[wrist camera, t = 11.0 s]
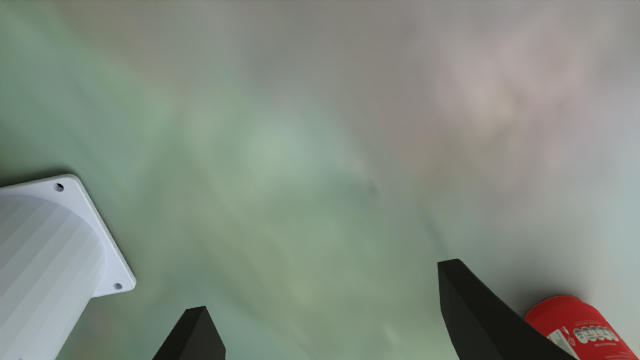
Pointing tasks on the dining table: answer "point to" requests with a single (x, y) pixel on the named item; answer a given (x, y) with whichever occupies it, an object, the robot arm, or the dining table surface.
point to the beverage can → (578, 329)
